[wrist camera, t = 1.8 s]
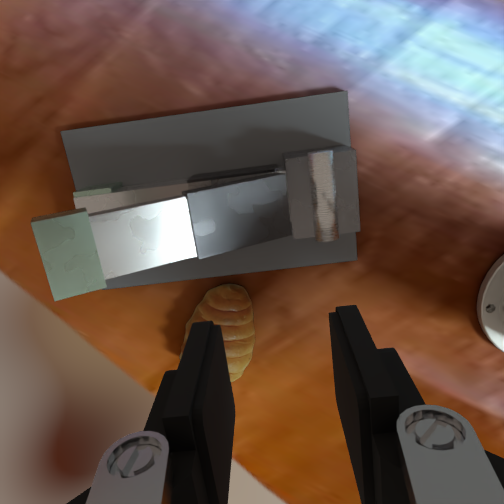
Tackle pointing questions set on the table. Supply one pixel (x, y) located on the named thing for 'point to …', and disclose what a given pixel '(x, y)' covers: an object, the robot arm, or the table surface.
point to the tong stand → (294, 167)
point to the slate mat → (215, 170)
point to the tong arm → (159, 232)
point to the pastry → (228, 324)
